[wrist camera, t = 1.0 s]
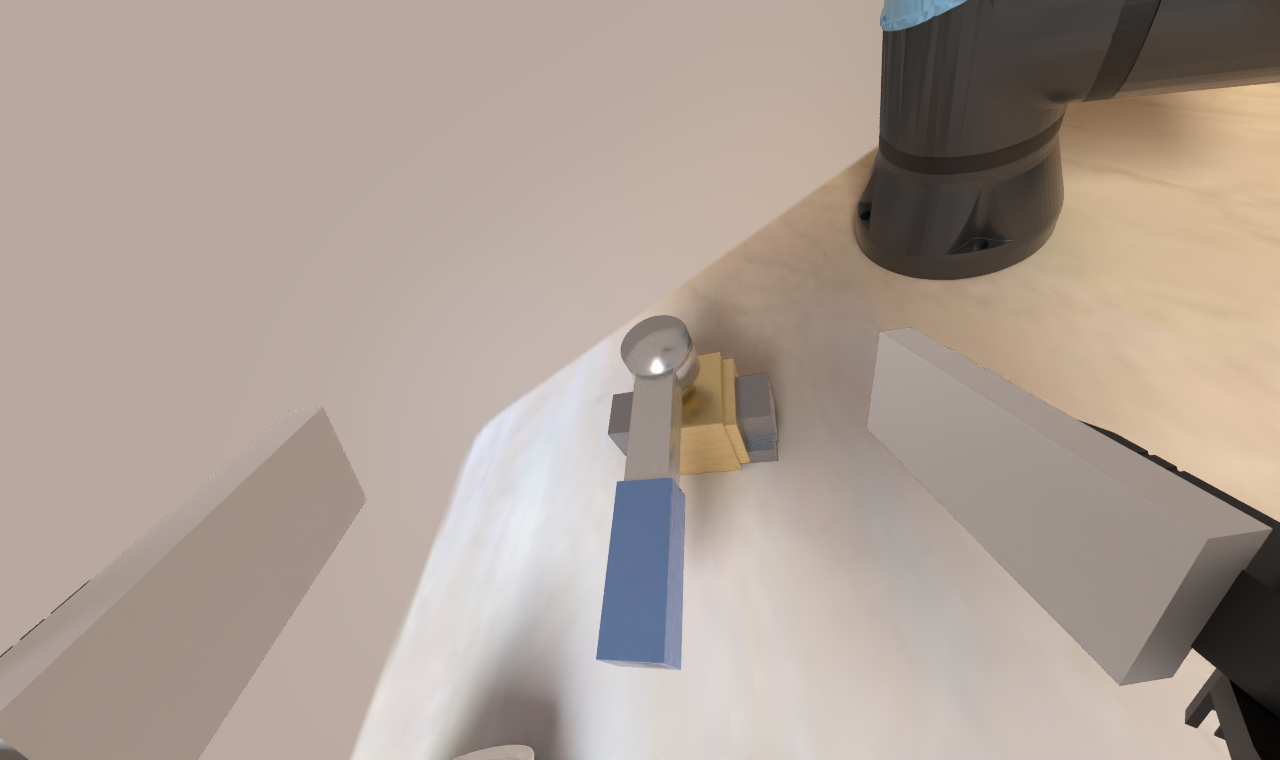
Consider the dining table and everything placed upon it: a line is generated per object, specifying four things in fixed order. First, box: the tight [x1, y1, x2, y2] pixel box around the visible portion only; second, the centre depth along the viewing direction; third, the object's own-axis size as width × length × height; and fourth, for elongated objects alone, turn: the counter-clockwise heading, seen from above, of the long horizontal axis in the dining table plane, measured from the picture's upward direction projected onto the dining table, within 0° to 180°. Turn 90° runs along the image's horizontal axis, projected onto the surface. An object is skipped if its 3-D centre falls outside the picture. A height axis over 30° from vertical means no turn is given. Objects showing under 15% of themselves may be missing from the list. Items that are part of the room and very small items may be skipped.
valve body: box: [608, 352, 778, 474], centre depth 35 cm, size 12×6×9 cm, turn 85°
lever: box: [596, 315, 700, 670], centre depth 26 cm, size 4×19×3 cm, turn 175°
